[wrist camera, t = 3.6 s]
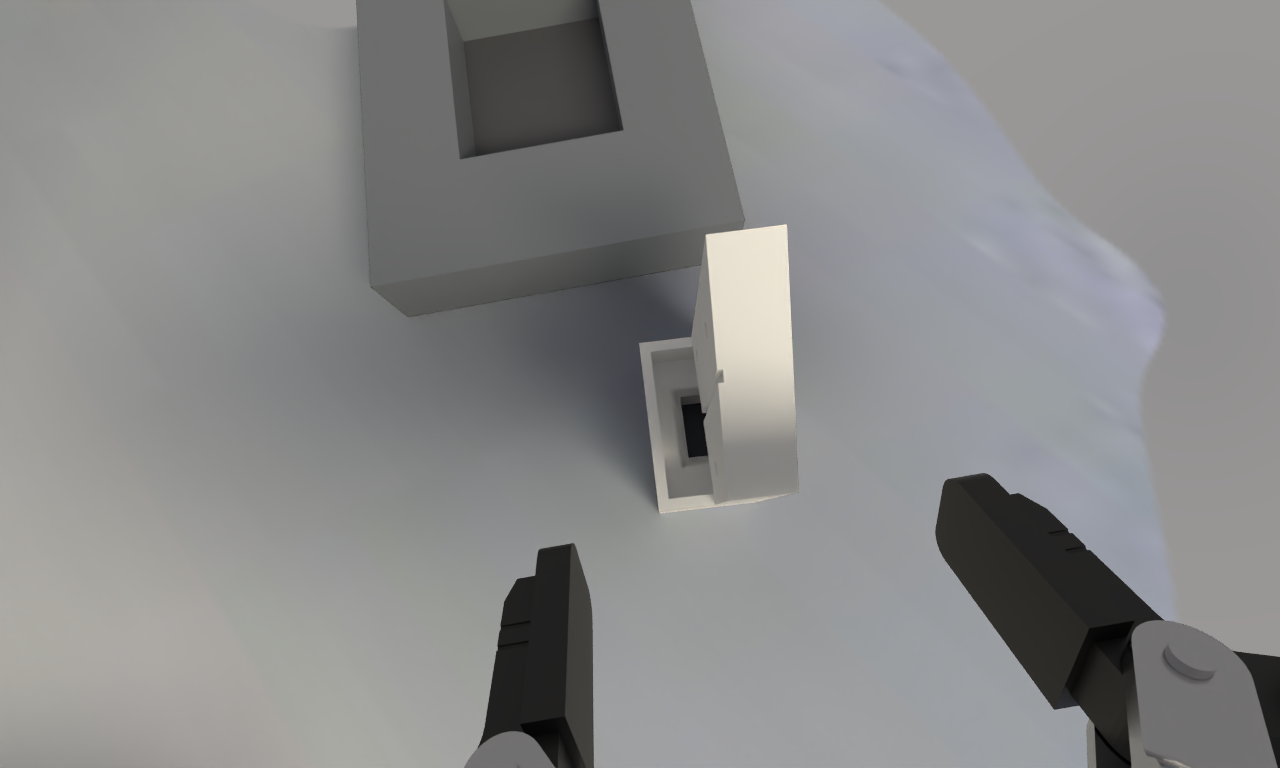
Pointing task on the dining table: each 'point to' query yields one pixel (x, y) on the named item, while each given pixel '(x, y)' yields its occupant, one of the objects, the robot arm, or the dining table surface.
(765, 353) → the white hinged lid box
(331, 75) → the dining table surface
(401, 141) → the socket plate
